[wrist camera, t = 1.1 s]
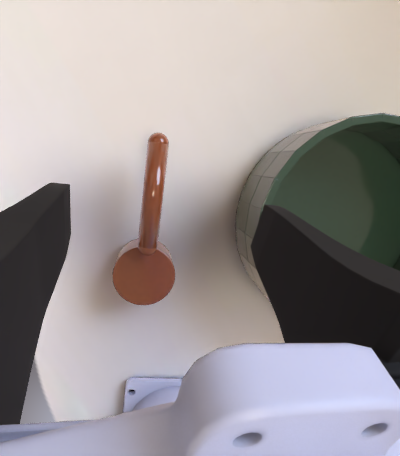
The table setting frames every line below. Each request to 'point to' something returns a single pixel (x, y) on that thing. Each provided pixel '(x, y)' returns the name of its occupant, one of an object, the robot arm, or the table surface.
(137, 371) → the table surface
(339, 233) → the tin
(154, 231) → the brown toy plunger
